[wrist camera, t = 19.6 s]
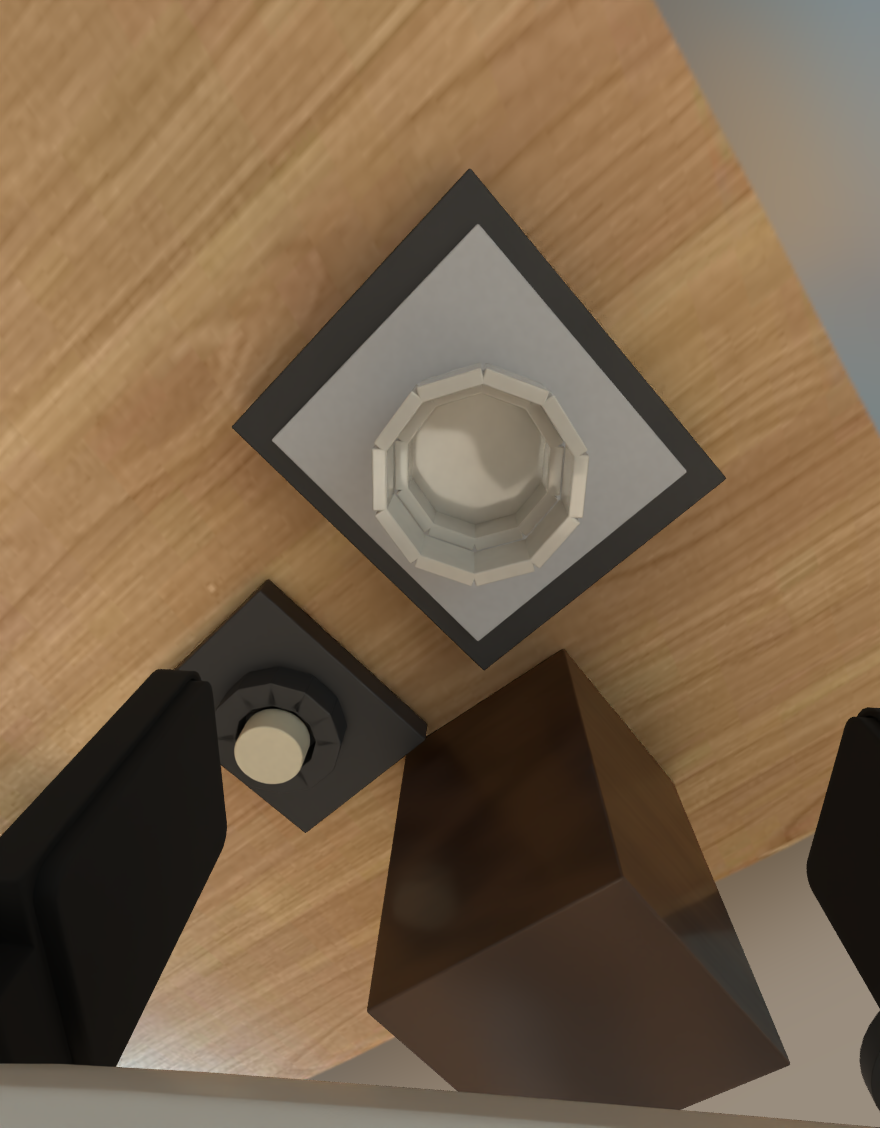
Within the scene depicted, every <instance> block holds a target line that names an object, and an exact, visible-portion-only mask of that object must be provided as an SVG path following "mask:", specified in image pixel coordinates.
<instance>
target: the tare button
mask: <svg viewBox="0 0 880 1128" xmlns="http://www.w3.org/2000/svg"><path fill="white" fill-rule="evenodd" d="M309 745H310V735H309V732H308V729H307V727H306V725H305V724H304V723H303V721H302V720H301V719H300V718H298V717H297V716H296V715H294V714H293V713H291V712H288V711H286V710H282V709H265V710H262V711H259V712H257V713H255V714H254V715H253V716H251V717H250V718H249V720H248V721H247V723H246V724H245V726H244V728H243V730H242V732H241V734H240V735H239V737H238V739H237V741H236V743H235V748H234V755H235V759H236V762H237V764H238V766H239V767H240V769H241V770H242V771H243V772H244V773H245V774H246V775H247V776H249V777H250V778H252V779H254V780H256V781H258V782H262V783H266V784H279V783H283V782H286V781H288V780H290V779H292V778H293V777H295V776H296V775H297V774H298V772H299V771H300V769H301V767H302V765H303V762H304V759H305V757H306V754H307V751H308V749H309Z"/></svg>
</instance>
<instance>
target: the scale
mask: <svg viewBox="0 0 880 1128" xmlns="http://www.w3.org/2000/svg"><path fill="white" fill-rule="evenodd" d="M477 363H480V364H481V367H482V370H483V368H484V365H485V363H488V364H491V365H493V366H496V367H499V368H501V369H504V370H507V371H509V372H512V373H515V374H517V375H520V376H523V377H526V378H528V379H531V380H534V381H536V382H539V383H542V384H543V385H544V386H545V388H548V389H549V390H550V391H551V392H552V394H553V395H554V396H555V397H556V399H557V400H558V402H559V404H560V405H561V407H562V408H563V410H564V412H565V413H566V415H567V417H568V418H569V420H570V421H571V423H572V425H573V426H574V428H575V430H576V431H577V433H578V434H579V436H580V438H581V439H582V441H583V442H584V444H585V446H586V447H587V452H586V453H587V454H588V455H589V465H588V475H587V484H586V494H585V503H584V513H583V518H578V520H579V522H580V524H579V525H578V527H577V528H576V529H575V530H574V531H573V532H572V533H571V534H570V535H569V537H568V538H567V539H566V540H565V541H564V542H563V543H562V544H561V546H560V547H559V548H558V549H557V550H556V551H555V552H554V553H553V554H552V556H551V557H550V558H549V559H548V560H547V561H546V562H545V563H544V565H543V566H542V567H541V568H538V567H536V566H535V565H534V568H535V571H534V572H531V573H527V574H523V575H519V576H515V577H512V578H508V579H504V580H500V581H496V582H492V583H488V584H484V585H480V586H476V584H475V581H473V584H472V586H469V585H466V584H463V583H460V582H457V581H454V580H451V579H448V578H445V577H442V576H440V575H437V574H434V573H431V572H428V571H425V570H422V569H419V568H416V567H415V562H416V561H414V562H413V563H409V561H408V560H407V559H406V557H405V556H404V555H403V553H402V552H401V551H400V549H399V548H398V547H397V545H396V544H395V543H394V541H393V540H392V539H391V537H390V536H389V535H388V533H387V532H386V531H385V529H384V528H383V527H382V525H381V524H380V523H379V521H378V520H377V519H376V517H375V514H376V512H377V511H374V510H373V509H372V448H373V447H374V446H375V444H374V441H375V440H376V439H377V437H378V436H379V435H380V433H381V432H382V430H383V429H384V428H385V426H386V425H387V424H388V422H389V421H390V419H391V418H392V417H393V415H394V414H395V413H396V411H397V410H398V408H399V407H400V406H401V404H402V403H403V402H404V400H405V399H406V398H407V396H408V395H409V393H410V392H411V391H412V389H413V388H414V387H415V385H417V384H418V385H419V384H420V383H421V381H422V380H425V379H428V378H431V377H434V376H438V375H441V374H444V373H447V372H451V371H454V370H457V369H461V368H464V367H467V366H470V365H474V364H477ZM232 428H233V429H234V430H235V431H236V432H237V433H238V434H239V435H240V436H241V437H242V438H243V439H244V440H245V441H246V442H247V443H248V444H249V445H250V446H251V447H253V448H254V449H255V450H256V451H257V452H258V453H259V454H260V455H261V456H262V457H263V458H264V459H265V460H266V461H267V462H268V463H269V464H270V465H271V466H272V467H273V468H274V469H275V470H276V471H277V472H278V473H279V474H281V475H282V476H283V477H284V478H285V479H286V480H287V481H288V482H289V483H290V484H291V485H292V486H293V487H294V488H295V489H296V490H297V491H298V492H299V493H300V494H301V495H302V496H303V497H304V498H305V499H306V500H307V501H309V502H310V503H311V504H312V505H313V506H314V507H315V508H316V509H317V510H318V511H319V512H320V513H321V514H322V515H323V516H324V517H325V518H326V519H327V520H328V521H329V522H330V523H331V524H332V525H333V526H334V527H335V528H337V529H338V530H339V531H340V532H341V533H342V534H343V535H344V536H345V537H346V538H347V539H348V540H349V541H350V542H351V543H352V544H353V545H354V546H355V547H356V548H357V549H358V550H359V551H360V552H361V553H362V554H364V555H365V556H366V557H367V558H368V559H369V560H370V561H371V562H372V563H373V564H374V565H375V566H376V567H377V568H378V569H379V570H380V571H381V572H382V573H383V574H384V575H385V576H386V577H387V578H388V579H389V580H390V581H392V582H393V583H394V584H395V585H396V586H397V587H398V588H399V589H400V590H401V591H402V592H403V593H404V594H405V595H406V596H407V597H408V598H409V599H410V600H411V601H412V602H413V603H414V604H415V605H416V606H417V607H418V608H420V609H421V610H422V611H423V612H424V613H425V614H426V615H427V616H428V617H429V618H430V619H431V620H432V621H433V622H434V623H435V624H436V625H437V626H438V627H439V628H440V629H441V630H442V631H443V632H444V633H445V634H446V635H448V636H449V637H450V638H451V639H452V640H453V641H454V642H455V643H456V644H457V645H458V646H459V647H460V648H461V649H462V650H463V651H464V652H465V653H466V654H467V655H468V656H469V657H470V658H471V659H472V660H473V661H475V662H476V663H477V664H478V665H479V666H480V667H481V668H482V669H483V670H485V669H487V668H488V667H489V666H490V665H492V664H493V663H494V662H496V661H497V660H498V659H499V658H501V657H502V656H503V655H504V654H506V653H507V652H508V651H509V650H511V649H512V648H513V647H514V646H516V645H517V644H518V643H520V642H521V641H522V640H523V639H525V638H526V637H527V636H528V635H530V634H531V633H532V632H533V631H535V630H536V629H537V628H538V627H540V626H541V625H542V624H544V623H545V622H546V621H547V620H549V619H550V618H551V617H552V616H554V615H555V614H556V613H557V612H559V611H560V610H561V609H562V608H564V607H565V606H566V605H568V604H569V603H570V602H571V601H573V600H574V599H575V598H576V597H578V596H579V595H580V594H581V593H583V592H584V591H585V590H586V589H588V588H589V587H590V586H592V585H593V584H594V583H595V582H597V581H598V580H599V579H600V578H602V577H603V576H604V575H605V574H607V573H608V572H609V571H610V570H612V569H613V568H614V567H615V566H617V565H618V564H619V563H621V562H622V561H623V560H624V559H626V558H627V557H628V556H629V555H631V554H632V553H633V552H634V551H636V550H637V549H638V548H639V547H641V546H642V545H643V544H645V543H646V542H647V541H648V540H650V539H651V538H652V537H653V536H655V535H656V534H657V533H658V532H660V531H661V530H662V529H663V528H665V527H666V526H667V525H669V524H670V523H671V522H672V521H674V520H675V519H676V518H677V517H679V516H680V515H681V514H682V513H684V512H685V511H686V510H687V509H689V508H690V507H691V506H693V505H694V504H695V503H696V502H698V501H699V500H700V499H701V498H703V497H704V496H705V495H706V494H708V493H709V492H710V491H711V490H713V489H714V488H715V487H717V486H718V485H719V484H720V483H722V482H723V481H724V480H725V479H726V477H725V476H724V475H723V474H722V472H721V471H720V470H719V469H718V468H717V466H716V465H715V464H714V463H713V462H712V460H711V459H710V458H709V457H708V456H707V454H706V453H705V452H704V451H703V449H702V448H701V447H700V446H699V445H698V443H697V442H696V441H695V440H694V439H693V437H692V436H691V435H690V434H689V433H688V431H687V430H686V429H685V428H684V426H683V425H682V424H681V423H680V422H679V420H678V419H677V418H676V417H675V416H674V414H673V413H672V412H671V411H670V409H669V408H668V407H667V406H666V405H665V403H664V402H663V401H662V400H661V399H660V397H659V396H658V395H657V394H656V393H655V391H654V390H653V389H652V388H651V386H650V385H649V384H648V383H647V382H646V380H645V379H644V378H643V377H642V376H641V374H640V373H639V372H638V371H637V370H636V368H635V367H634V366H633V365H632V363H631V362H630V361H629V360H628V359H627V357H626V356H625V355H624V354H623V353H622V351H621V350H620V349H619V348H618V347H617V345H616V344H615V343H614V342H613V340H612V339H611V338H610V337H609V336H608V334H607V333H606V332H605V331H604V330H603V328H602V327H601V326H600V325H599V323H598V322H597V321H596V320H595V319H594V317H593V316H592V315H591V314H590V313H589V311H588V310H587V309H586V308H585V307H584V305H583V304H582V303H581V302H580V300H579V299H578V298H577V297H576V296H575V294H574V293H573V292H572V291H571V290H570V288H569V287H568V286H567V285H566V284H565V282H564V281H563V280H562V279H561V277H560V276H559V275H558V274H557V273H556V271H555V270H554V269H553V268H552V267H551V265H550V264H549V263H548V262H547V261H546V259H545V258H544V257H543V256H542V254H541V253H540V252H539V251H538V250H537V248H536V247H535V246H534V245H533V244H532V242H531V241H530V240H529V239H528V238H527V236H526V235H525V234H524V233H523V231H522V230H521V229H520V228H519V227H518V225H517V224H516V223H515V222H514V221H513V219H512V218H511V217H510V216H509V214H508V213H507V212H506V211H505V210H504V208H503V207H502V206H501V205H500V204H499V202H498V201H497V200H496V199H495V198H494V196H493V195H492V194H491V193H490V191H489V190H488V189H487V188H486V187H485V185H484V184H483V183H482V182H481V181H480V179H479V178H478V177H477V176H476V175H475V173H474V172H473V171H472V170H471V169H468V170H467V171H466V172H465V173H464V175H463V176H462V177H461V178H460V179H459V180H458V181H457V182H456V183H455V184H454V185H453V187H452V188H451V189H450V190H449V191H448V192H447V193H446V194H445V195H444V196H443V197H442V198H441V200H440V201H439V202H438V203H437V204H436V205H435V206H434V207H433V208H432V209H431V210H430V212H429V213H428V214H427V215H426V216H425V217H424V218H423V219H422V220H421V221H420V222H419V223H418V225H417V226H416V227H415V228H414V229H413V230H412V231H411V232H410V233H409V234H408V235H407V237H406V238H405V239H404V240H403V241H402V242H401V243H400V244H399V245H398V246H397V247H396V249H395V250H394V251H393V252H392V253H391V254H390V255H389V256H388V257H387V258H386V259H385V260H384V262H383V263H382V264H381V265H380V266H379V267H378V268H377V269H376V270H375V271H374V272H373V274H372V275H371V276H370V277H369V278H368V279H367V280H366V281H365V282H364V283H363V284H362V285H361V287H360V288H359V289H358V290H357V291H356V292H355V293H354V294H353V295H352V296H351V297H350V299H349V300H348V301H347V302H346V303H345V304H344V305H343V306H342V307H341V308H340V309H339V310H338V312H337V313H336V314H335V315H334V316H333V317H332V318H331V319H330V320H329V321H328V322H327V324H326V325H325V326H324V327H323V328H322V329H321V330H320V331H319V332H318V333H317V334H316V336H315V337H314V338H313V339H312V340H311V341H310V342H309V343H308V344H307V345H306V346H305V347H304V349H303V350H302V351H301V352H300V353H299V354H298V355H297V356H296V357H295V358H294V359H293V361H292V362H291V363H290V364H289V365H288V366H287V367H286V368H285V369H284V370H283V371H282V372H281V374H280V375H279V376H278V377H277V378H276V379H275V380H274V381H273V382H272V383H271V384H270V386H269V387H268V388H267V389H266V390H265V391H264V392H263V393H262V394H261V395H260V396H259V397H258V399H257V400H256V401H255V402H254V403H253V404H252V405H251V406H250V407H249V408H248V409H247V411H246V412H245V413H244V414H243V415H242V416H241V417H240V418H239V419H238V420H237V421H236V423H235V424H234V425H233V426H232ZM396 439H397V438H396ZM395 441H396V440H395ZM395 441H394V493H395V495H396V496H397V492H398V490H395ZM562 444H563V446H564V453H565V443H564V442H563V443H562ZM563 464H564V459H563ZM562 475H563V470H562ZM561 486H562V481H561ZM397 497H398V496H397ZM560 497H561V492H560V495H559V496H557V499H558V501H559V500H560ZM398 499H399V497H398ZM399 500H400V499H399ZM400 501H401V500H400ZM558 501H557V502H558ZM557 502H556V503H557ZM401 503H402V501H401ZM556 503H555V504H556ZM402 504H403V503H402ZM555 504H554V505H553V506H552V508H553V507H554V506H555ZM403 506H404V504H403ZM404 507H405V506H404ZM405 508H406V507H405ZM552 508H551V509H552ZM551 509H550V510H551ZM406 510H407V508H406ZM550 510H549V511H550ZM407 511H408V510H407ZM549 511H548V512H549ZM408 512H409V511H408ZM548 512H547V513H546V515H547V514H548ZM409 514H410V512H409ZM410 515H411V514H410ZM546 515H545V516H546ZM545 516H544V517H545ZM411 517H412V515H411ZM544 517H543V518H544ZM412 518H413V517H412ZM543 518H542V519H543ZM413 519H414V518H413ZM542 519H541V520H542ZM541 520H540V521H539V523H540V522H541ZM414 521H415V519H414ZM415 522H416V521H415ZM416 523H417V522H416ZM539 523H538V524H539ZM538 524H537V525H538ZM417 525H418V523H417ZM537 525H536V526H537ZM418 526H419V525H418ZM536 526H535V527H536ZM535 527H534V528H533V529H532V531H533V530H534V529H535ZM419 528H420V526H419ZM420 529H421V528H420ZM421 530H422V529H421ZM532 531H531V532H532ZM422 532H423V533H424V534H425V535H426V536H429V535H428V531H426V532H424V531H423V530H422ZM531 532H530V533H531ZM530 533H529V534H530ZM529 534H528V535H529ZM522 535H523V538H522V539H519V540H516V541H520V540H524V539H526V538H527V537H528V535H527V536H525V535H524V534H523V533H522ZM429 537H432V536H429ZM432 538H435V537H432ZM435 539H438V538H435ZM438 540H441V539H438ZM441 541H443V540H441ZM516 541H512V542H516ZM443 542H446V541H443ZM512 542H508V543H512ZM446 543H449V542H446ZM508 543H504V544H500V545H497V546H501V545H505V544H508ZM449 544H452V543H449ZM452 545H455V544H452ZM455 546H458V545H455ZM497 546H493V547H497ZM458 547H461V546H458ZM493 547H489V548H493ZM461 548H463V549H466V548H464V547H461ZM489 548H485V549H481V550H476V548H475V546H474V548H473V550H469V549H466V550H469V551H472V552H478V551H482V550H486V549H489Z"/></svg>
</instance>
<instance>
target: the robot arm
mask: <svg viewBox="0 0 880 1128" xmlns="http://www.w3.org/2000/svg"><path fill="white" fill-rule="evenodd" d="M226 831H227V821H226V811H225V802H224V793H223V783H222V774H221V764H220V755H219V746H218V736H217V727H216V718H215V708H214V699H213V691H212V686H211V684H210V683H209V682H208V681H201V677H200V675H199V673H197V672H196V671H185V670H166V669H158V670H156V671H155V672H153V673H152V674H151V675H150V676H149V677H148V679H147V680H146V681H145V682H144V683H143V684H142V685H141V686H140V687H139V688H138V689H137V690H136V691H135V693H134V694H133V695H132V696H131V697H130V698H129V699H128V700H127V701H126V702H125V703H124V704H123V705H122V707H121V708H120V709H119V710H118V711H117V712H116V713H115V714H114V715H113V716H112V717H111V718H110V719H109V721H108V722H107V723H106V724H105V725H104V726H103V727H102V728H101V729H100V730H99V731H98V732H97V733H96V735H95V736H94V737H93V738H92V739H91V740H90V741H89V742H88V743H87V744H86V745H85V746H84V747H83V749H82V750H81V751H80V752H79V753H78V754H77V755H76V756H75V757H74V758H73V759H72V760H71V761H70V763H69V764H68V765H67V766H66V767H65V768H64V769H63V770H62V771H61V772H60V773H59V774H58V775H57V776H56V778H55V779H54V780H53V781H52V782H51V783H50V784H49V785H48V786H47V787H46V788H45V789H44V790H43V792H42V793H41V794H40V795H39V796H38V797H37V798H36V799H35V800H34V801H33V802H32V803H31V804H30V806H29V807H28V808H27V809H26V810H25V811H24V812H23V813H22V814H21V815H20V816H19V817H18V818H17V820H16V821H15V822H14V823H13V824H12V825H11V826H10V827H9V828H8V829H7V830H6V831H5V832H4V834H3V835H2V836H1V837H0V1128H880V1127H868V1126H858V1125H846V1124H835V1123H824V1122H813V1121H802V1120H790V1119H778V1118H767V1117H756V1116H745V1115H733V1114H721V1113H709V1112H697V1111H685V1110H674V1109H662V1108H650V1107H638V1106H626V1105H614V1104H603V1103H590V1102H578V1101H566V1100H554V1099H542V1098H530V1097H517V1096H505V1095H493V1094H481V1093H469V1092H456V1091H444V1090H430V1089H417V1088H405V1087H392V1086H379V1085H366V1084H353V1083H339V1082H326V1081H312V1080H301V1079H288V1078H275V1077H262V1076H249V1075H236V1074H223V1073H209V1072H192V1071H175V1070H157V1069H140V1068H122V1067H116V1066H117V1064H118V1062H119V1059H120V1057H121V1055H122V1053H123V1051H124V1049H125V1047H126V1045H127V1043H128V1041H129V1039H130V1037H131V1035H132V1033H133V1031H134V1029H135V1027H136V1025H137V1023H138V1021H139V1019H140V1017H141V1015H142V1013H143V1010H144V1008H145V1006H146V1004H147V1002H148V1000H149V998H150V996H151V994H152V992H153V990H154V988H155V986H156V984H157V982H158V980H159V978H160V976H161V974H162V972H163V970H164V968H165V966H166V964H167V961H168V959H169V957H170V955H171V953H172V951H173V949H174V947H175V945H176V943H177V941H178V939H179V937H180V935H181V933H182V931H183V929H184V927H185V925H186V923H187V921H188V919H189V917H190V914H191V912H192V910H193V908H194V906H195V904H196V902H197V900H198V898H199V896H200V894H201V892H202V890H203V888H204V886H205V884H206V882H207V880H208V878H209V876H210V874H211V872H212V870H213V868H214V865H215V863H216V861H217V859H218V857H219V855H220V853H221V851H222V849H223V846H224V842H225V838H226ZM807 877H808V881H809V884H810V887H811V889H812V891H813V893H814V895H815V896H816V898H817V900H818V902H819V903H820V905H821V907H822V909H823V910H824V912H825V914H826V916H827V917H828V919H829V921H830V923H831V924H832V926H833V928H834V930H835V931H836V933H837V935H838V937H839V938H840V940H841V942H842V944H843V945H844V947H845V949H846V951H847V952H848V954H849V956H850V958H851V959H852V961H853V963H854V964H855V966H856V968H857V970H858V971H859V973H860V975H861V977H862V978H863V980H864V982H865V984H866V985H867V987H868V989H869V991H870V992H871V994H872V996H873V998H874V999H875V1001H876V1003H877V1005H878V1006H879V1008H880V708H868V707H867V708H865V709H862V711H861V712H860V713H859V714H858V716H857V717H852V718H850V719H849V720H848V721H847V723H846V725H845V728H844V731H843V735H842V739H841V742H840V746H839V749H838V753H837V756H836V760H835V764H834V767H833V771H832V774H831V778H830V781H829V785H828V789H827V792H826V796H825V799H824V803H823V806H822V810H821V814H820V817H819V821H818V824H817V828H816V831H815V835H814V839H813V842H812V846H811V850H810V853H809V857H808V860H807Z"/></svg>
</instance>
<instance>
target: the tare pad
mask: <svg viewBox="0 0 880 1128" xmlns="http://www.w3.org/2000/svg"><path fill="white" fill-rule="evenodd" d="M174 670H185V671H196V672H197V673H199V675H200V677H201V681H208V682H209V683H210V684H211V686H212V691H213V699H214V708H215V718H216V727H217V736H218V746H219V755H220V764H221V765H222V766H223V767H224V768H226V769H227V770H228V771H229V772H230V773H232V774H233V775H234V776H235V777H237V778H238V779H239V780H240V781H242V782H243V783H244V784H245V785H247V786H248V787H249V788H250V789H252V790H253V791H254V792H255V793H256V794H258V795H259V796H260V797H261V798H263V799H264V800H265V801H266V802H268V803H269V804H270V805H271V806H273V807H274V808H275V809H276V810H278V811H279V812H280V813H281V814H282V815H284V816H285V817H286V818H287V819H289V820H290V821H291V822H292V823H294V824H295V825H296V826H297V827H299V828H300V829H301V830H302V831H303V832H305V833H306V832H308V831H309V830H310V829H311V828H313V827H314V826H315V825H317V824H318V823H319V822H320V821H322V820H323V819H324V818H326V817H327V816H328V815H329V814H331V813H332V812H333V811H335V810H336V809H337V808H338V807H340V806H341V805H342V804H344V803H345V802H346V801H347V800H349V799H350V798H351V797H353V796H354V795H355V794H356V793H358V792H359V791H360V790H362V789H363V788H364V787H365V786H367V785H368V784H369V783H371V782H372V781H373V780H374V779H376V778H377V777H378V776H380V775H381V774H382V773H383V772H385V771H386V770H387V769H389V768H390V767H391V766H392V765H394V764H395V763H396V762H398V761H399V760H400V759H401V758H403V757H404V756H405V755H407V754H408V753H409V752H410V751H412V750H413V749H414V748H416V747H417V746H418V745H419V744H421V743H422V742H423V741H424V740H425V738H426V729H427V724H426V723H425V722H424V721H423V720H422V719H421V718H420V717H419V716H418V715H416V714H415V713H414V712H413V711H412V710H411V709H410V708H409V707H408V706H407V705H405V704H404V703H403V702H402V701H401V700H400V699H399V698H398V697H397V696H396V695H395V694H393V693H392V692H391V691H390V690H389V689H388V688H387V687H386V686H385V685H384V684H382V683H381V682H380V681H379V680H378V679H377V678H376V677H375V676H374V675H373V674H371V673H370V672H369V671H368V670H367V669H366V668H365V667H364V666H363V665H362V664H360V663H359V662H358V661H357V660H356V659H355V658H354V657H353V656H352V655H351V654H349V653H348V652H347V651H346V650H345V649H344V648H343V647H342V646H341V645H340V644H338V643H337V642H336V641H335V640H334V639H333V638H332V637H331V636H330V635H329V634H327V633H326V632H325V631H324V630H323V629H322V628H321V627H320V626H319V625H318V624H317V623H315V622H314V621H313V620H312V619H311V618H310V617H309V616H308V615H307V614H306V613H304V612H303V611H302V610H301V609H300V608H299V607H298V606H297V605H296V604H295V603H293V602H292V601H291V600H290V599H289V598H288V597H287V596H286V595H285V594H284V593H282V592H281V591H280V590H279V589H278V588H277V587H276V586H275V585H274V584H273V583H271V582H270V581H269V580H267V581H266V582H265V583H264V584H262V585H261V586H260V587H259V588H258V589H257V590H256V591H255V592H254V593H253V594H252V595H251V596H250V597H249V598H248V599H247V600H246V601H245V602H244V603H243V604H242V605H241V606H240V607H239V608H238V609H236V610H235V611H234V612H233V613H232V614H231V615H230V616H229V617H228V618H227V619H226V620H225V621H224V622H223V623H222V624H221V625H220V626H219V627H218V628H217V629H216V630H215V631H214V632H213V633H212V634H211V635H209V636H208V637H207V638H206V639H205V640H204V641H203V642H202V643H201V644H200V645H199V646H198V647H197V648H196V649H195V650H194V651H193V652H192V653H191V654H190V655H189V656H188V657H187V658H186V659H185V660H184V661H182V662H181V663H180V664H179V665H178V666H177V667H176V668H175V669H174ZM265 709H282V710H286V711H288V712H291V713H293V714H294V715H296V716H297V717H298V718H300V719H301V720H302V721H303V723H304V724H305V725H306V727H307V729H308V732H309V735H310V745H309V749H308V751H307V754H306V757H305V759H304V762H303V765H302V767H301V769H300V771H299V772H298V774H297V775H296V776H295V777H293V778H292V779H290V780H288V781H286V782H283V783H279V784H266V783H262V782H258V781H256V780H254V779H252V778H250V777H249V776H247V775H246V774H245V773H244V772H243V771H242V770H241V769H240V767H239V766H238V764H237V762H236V759H235V755H234V748H235V743H236V741H237V739H238V737H239V735H240V734H241V732H242V730H243V728H244V726H245V724H246V723H247V721H248V720H249V718H250V717H251V716H253V715H254V714H255V713H257V712H259V711H262V710H265Z"/></svg>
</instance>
